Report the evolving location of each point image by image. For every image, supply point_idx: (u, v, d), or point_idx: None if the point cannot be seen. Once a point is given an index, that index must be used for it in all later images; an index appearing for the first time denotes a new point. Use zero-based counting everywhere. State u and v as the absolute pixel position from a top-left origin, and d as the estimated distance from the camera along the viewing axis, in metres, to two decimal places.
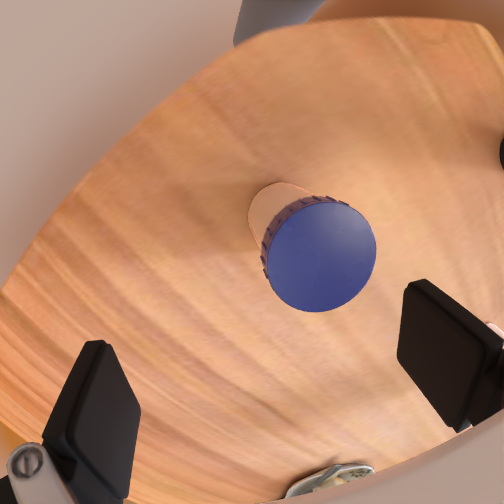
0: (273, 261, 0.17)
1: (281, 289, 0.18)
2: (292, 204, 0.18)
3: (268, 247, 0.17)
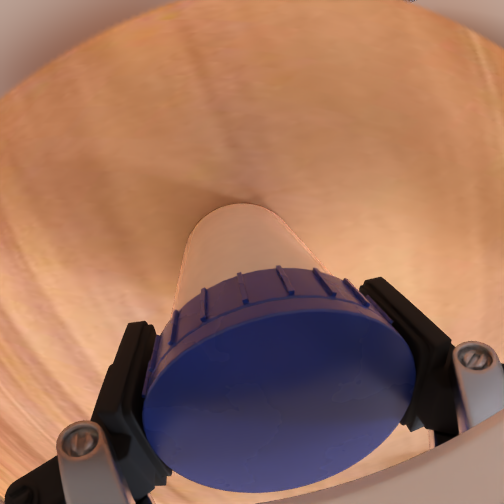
0: (160, 409, 0.06)
1: (170, 454, 0.06)
2: (256, 278, 0.07)
3: (155, 375, 0.06)
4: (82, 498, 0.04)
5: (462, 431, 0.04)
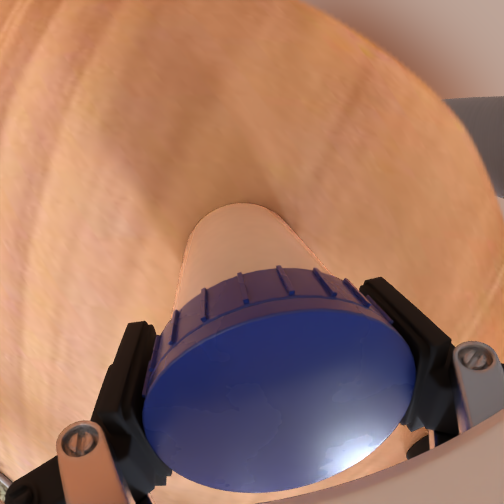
0: (160, 409, 0.06)
1: (170, 454, 0.06)
2: (256, 278, 0.07)
3: (155, 375, 0.06)
4: (82, 498, 0.04)
5: (462, 431, 0.04)
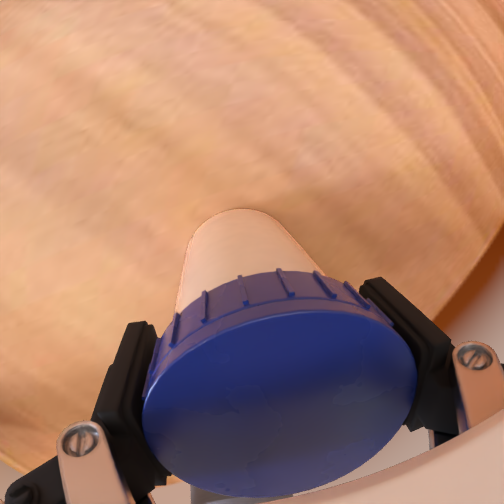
0: (160, 411, 0.06)
1: (170, 458, 0.06)
2: (257, 280, 0.07)
3: (155, 377, 0.06)
4: (82, 498, 0.04)
5: (462, 431, 0.04)
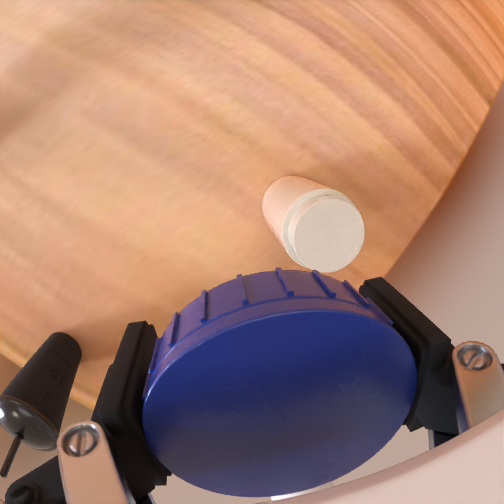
0: (160, 410, 0.06)
1: (170, 457, 0.06)
2: (256, 280, 0.07)
3: (155, 376, 0.06)
4: (82, 498, 0.04)
5: (462, 431, 0.04)
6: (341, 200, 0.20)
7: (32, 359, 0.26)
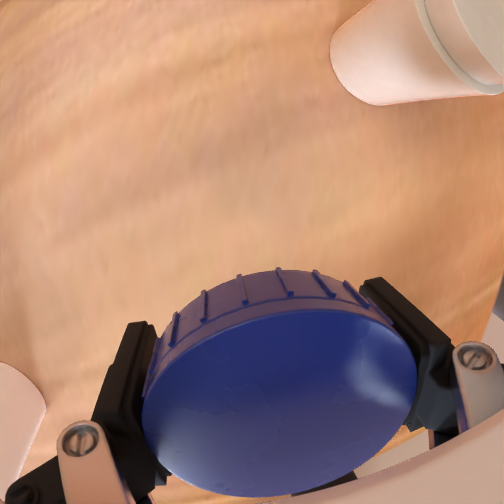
0: (159, 410, 0.06)
1: (169, 457, 0.06)
2: (256, 280, 0.07)
3: (154, 376, 0.06)
4: (82, 498, 0.04)
5: (462, 431, 0.04)
6: None
7: None
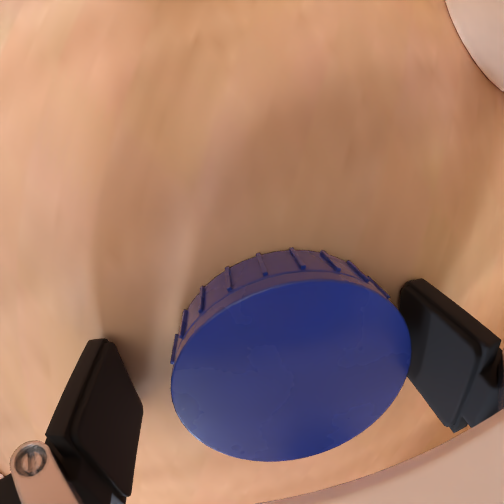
0: (188, 371, 0.07)
1: (193, 418, 0.08)
2: (273, 257, 0.08)
3: (186, 339, 0.07)
4: None
5: None
6: None
7: None
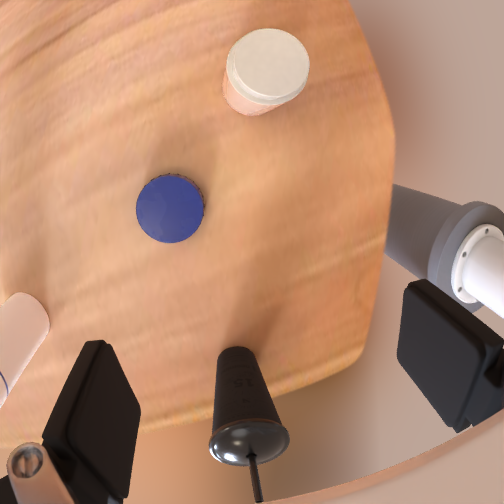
0: (140, 200, 0.29)
1: (141, 218, 0.29)
2: (163, 175, 0.30)
3: None
4: None
5: None
6: (247, 35, 0.18)
7: (215, 391, 0.32)
